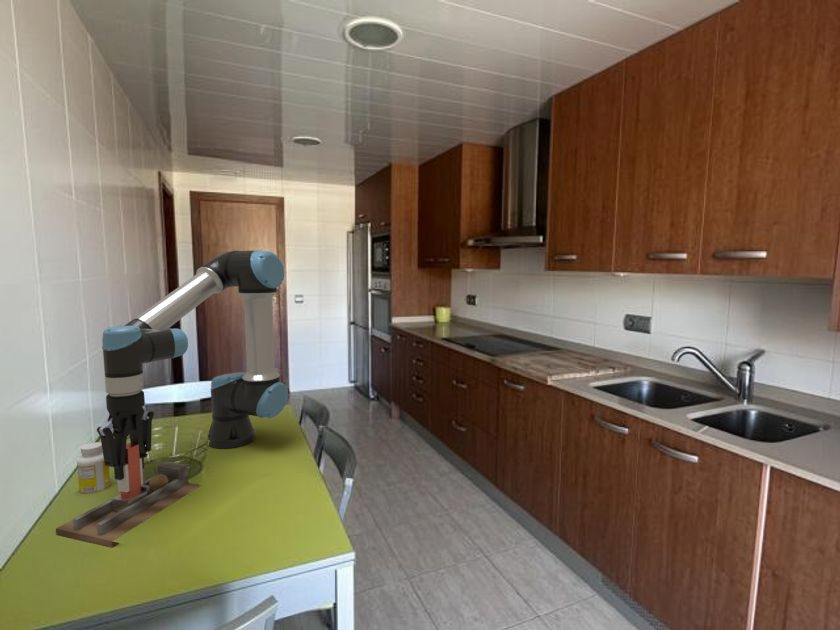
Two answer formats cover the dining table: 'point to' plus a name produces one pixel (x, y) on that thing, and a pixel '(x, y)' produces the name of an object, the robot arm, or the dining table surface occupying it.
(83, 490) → the supplement bottle
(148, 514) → the base
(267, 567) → the dining table surface
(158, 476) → the nut
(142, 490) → the lever
